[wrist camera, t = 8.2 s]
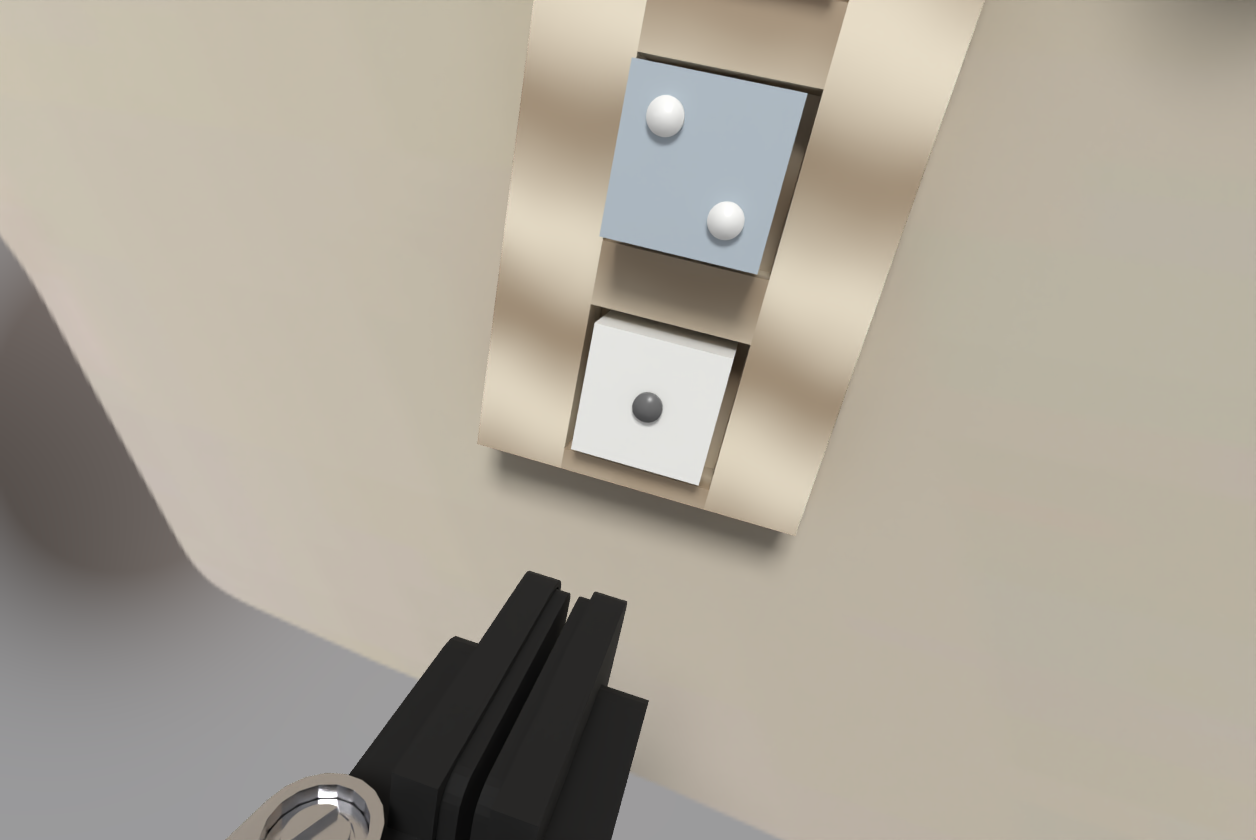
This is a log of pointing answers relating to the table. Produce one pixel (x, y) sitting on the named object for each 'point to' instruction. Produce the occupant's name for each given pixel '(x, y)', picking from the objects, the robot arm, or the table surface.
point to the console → (699, 291)
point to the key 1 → (652, 395)
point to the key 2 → (699, 163)
